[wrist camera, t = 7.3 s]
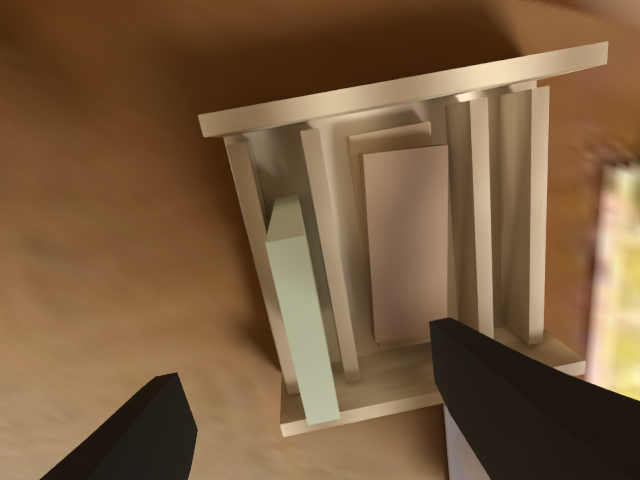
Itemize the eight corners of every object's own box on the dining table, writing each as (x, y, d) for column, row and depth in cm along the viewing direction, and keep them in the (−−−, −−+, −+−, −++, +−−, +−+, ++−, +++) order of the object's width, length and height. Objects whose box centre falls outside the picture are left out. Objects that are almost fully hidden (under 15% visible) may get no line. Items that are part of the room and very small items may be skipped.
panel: (298, 193, 18) (304, 235, 10) (321, 311, 20) (340, 418, 12) (275, 198, 18) (265, 243, 10) (300, 315, 20) (308, 425, 12)
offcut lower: (422, 122, 17) (430, 121, 16) (439, 326, 21) (446, 335, 20) (345, 136, 17) (349, 136, 16) (375, 339, 21) (379, 348, 20)
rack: (528, 65, 18) (608, 41, 13) (526, 326, 22) (584, 373, 18) (221, 121, 17) (197, 115, 13) (284, 376, 22) (283, 436, 17)
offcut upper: (439, 144, 17) (448, 144, 16) (439, 323, 20) (447, 332, 19) (358, 153, 17) (363, 154, 16) (371, 332, 19) (375, 342, 19)
